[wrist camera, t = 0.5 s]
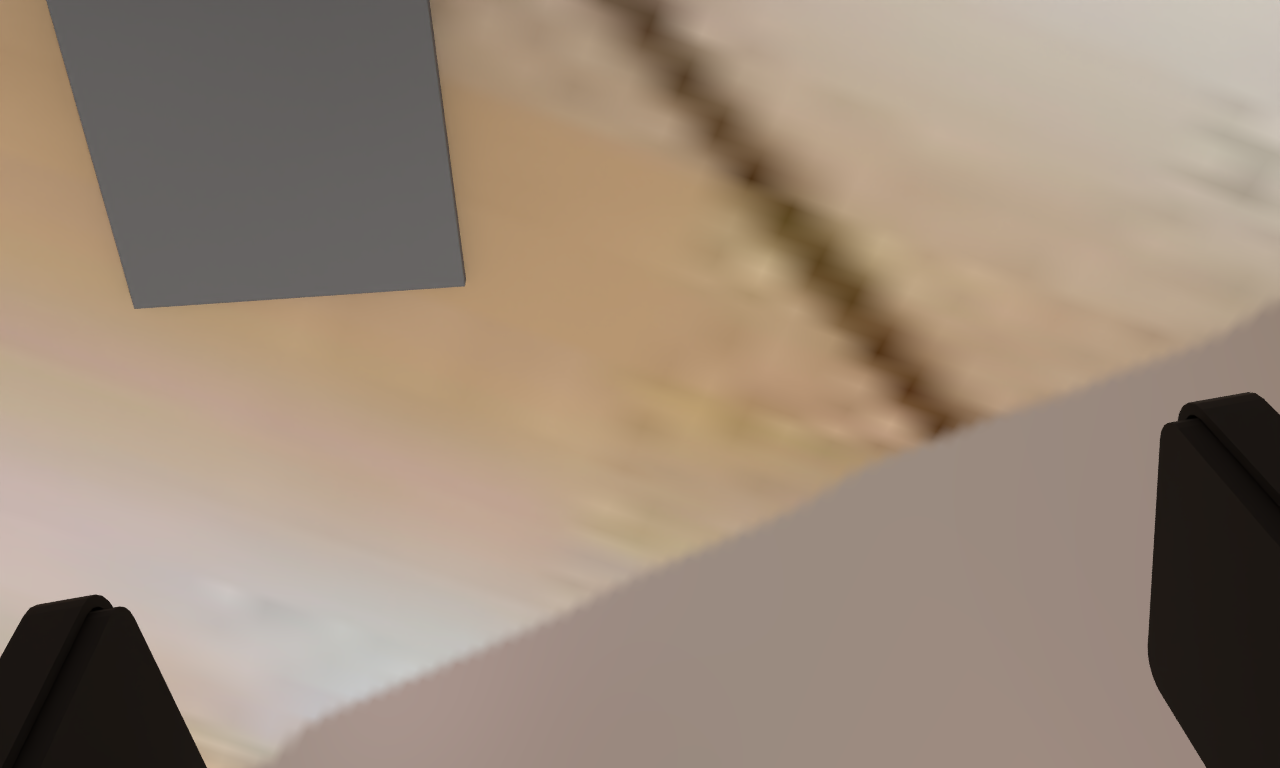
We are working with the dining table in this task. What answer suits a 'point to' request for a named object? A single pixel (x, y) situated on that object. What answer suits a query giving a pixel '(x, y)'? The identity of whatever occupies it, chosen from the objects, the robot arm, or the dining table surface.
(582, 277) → the dining table surface
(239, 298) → the rubber mat
